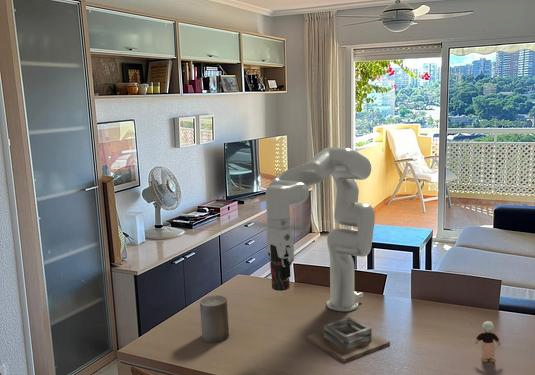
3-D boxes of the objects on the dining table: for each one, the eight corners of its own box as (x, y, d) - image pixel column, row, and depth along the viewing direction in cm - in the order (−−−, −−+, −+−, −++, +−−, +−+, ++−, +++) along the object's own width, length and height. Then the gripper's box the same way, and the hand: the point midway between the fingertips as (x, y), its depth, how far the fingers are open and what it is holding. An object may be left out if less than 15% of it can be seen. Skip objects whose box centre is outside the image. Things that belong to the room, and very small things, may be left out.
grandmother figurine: (495, 356, 166) (497, 318, 164) (501, 362, 163) (503, 323, 160) (471, 357, 166) (473, 319, 164) (477, 363, 162) (478, 325, 160)
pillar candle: (233, 332, 190) (231, 292, 187) (222, 344, 180) (219, 303, 178) (209, 329, 193) (206, 290, 190) (197, 341, 184) (194, 300, 181)
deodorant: (287, 291, 172) (286, 247, 169) (270, 290, 173) (268, 246, 171) (291, 284, 178) (289, 242, 175) (273, 283, 179) (272, 241, 176)
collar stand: (350, 324, 193) (350, 310, 192) (389, 345, 176) (390, 329, 175) (306, 339, 182) (306, 324, 181) (344, 362, 166) (344, 346, 165)
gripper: (303, 225, 166) (304, 279, 169) (274, 216, 181) (276, 265, 184) (283, 229, 162) (285, 284, 166) (255, 219, 177) (257, 270, 180)
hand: (280, 274), depth 175 cm, fingers closed on deodorant, 5 cm apart
